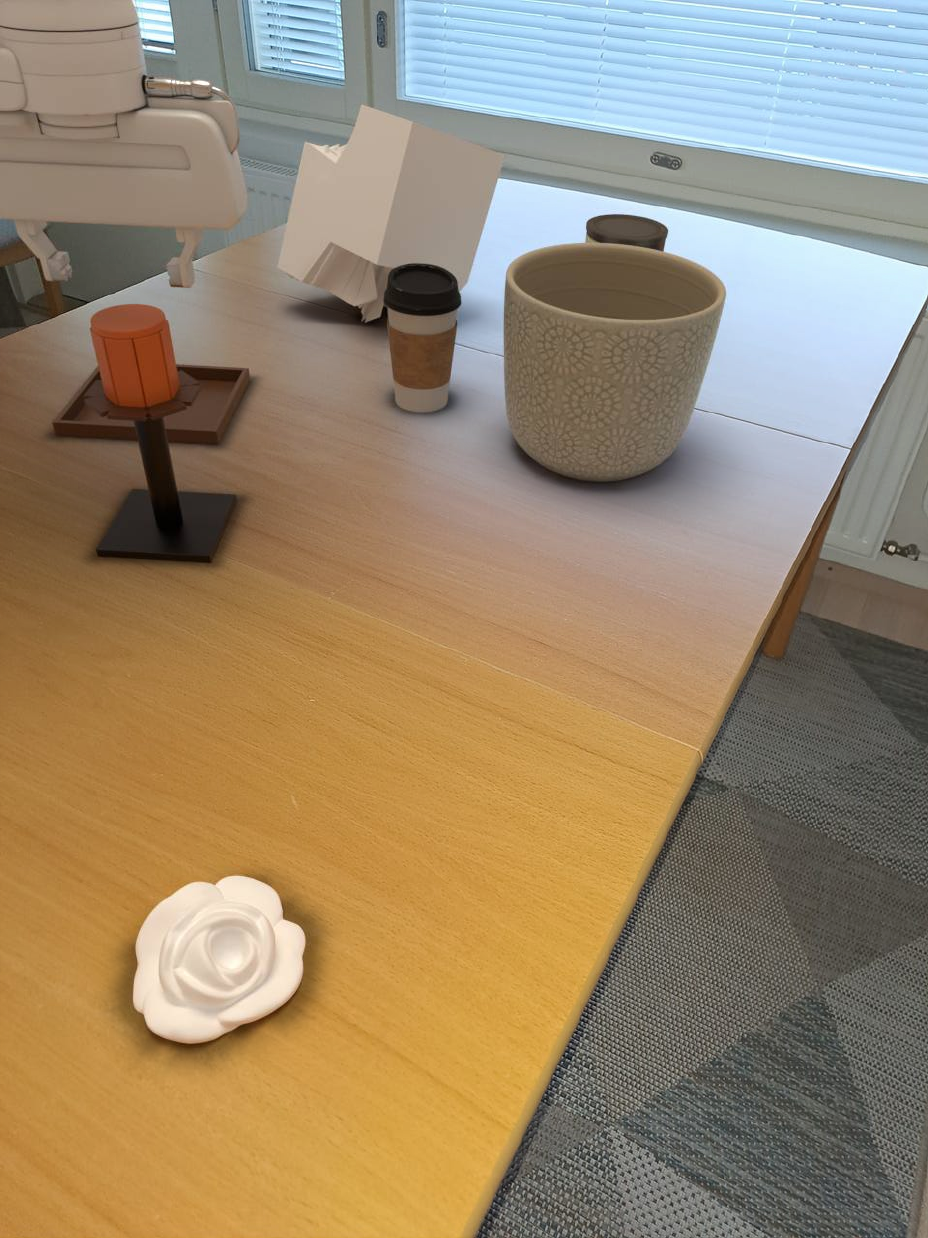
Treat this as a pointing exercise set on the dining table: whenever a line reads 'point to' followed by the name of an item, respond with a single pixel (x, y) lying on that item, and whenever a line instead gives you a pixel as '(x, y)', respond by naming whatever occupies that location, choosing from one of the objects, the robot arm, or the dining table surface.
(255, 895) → the rose
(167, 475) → the stand
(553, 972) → the dining table surface
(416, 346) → the coffee cup
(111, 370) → the hat
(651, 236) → the coffee can
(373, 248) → the tissue box
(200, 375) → the tray
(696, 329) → the planter
